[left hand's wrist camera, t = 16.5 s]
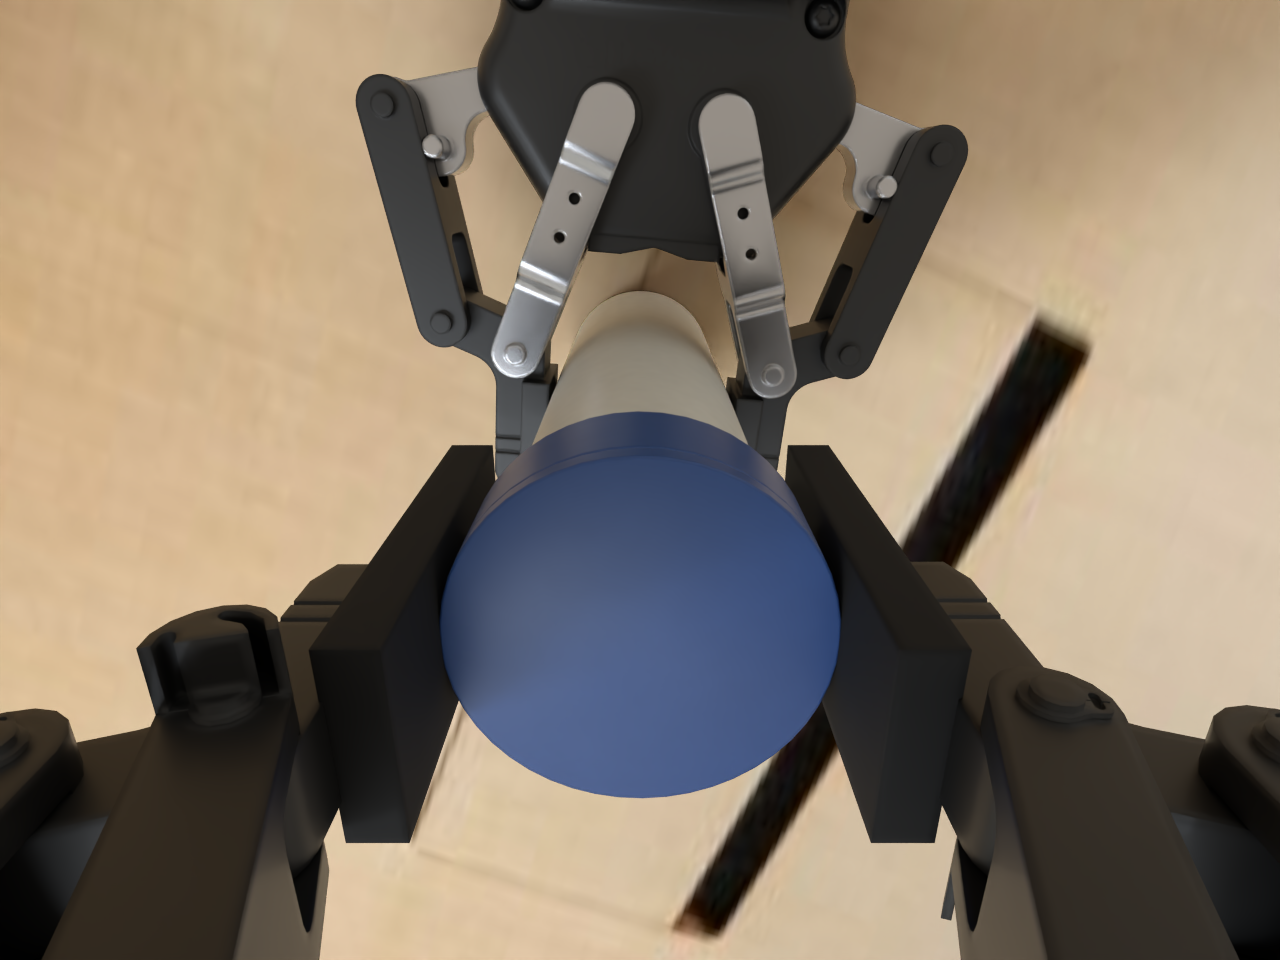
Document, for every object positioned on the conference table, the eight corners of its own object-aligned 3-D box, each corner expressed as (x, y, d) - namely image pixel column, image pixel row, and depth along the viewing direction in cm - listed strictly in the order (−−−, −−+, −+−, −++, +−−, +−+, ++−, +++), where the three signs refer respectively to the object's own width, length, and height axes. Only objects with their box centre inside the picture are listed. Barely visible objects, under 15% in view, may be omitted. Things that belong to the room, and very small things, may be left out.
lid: (399, 576, 12) (356, 647, 10) (637, 332, 11) (636, 364, 9) (642, 764, 14) (643, 855, 12) (882, 571, 12) (924, 641, 10)
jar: (612, 264, 25) (568, 404, 10) (733, 333, 26) (870, 562, 11) (549, 385, 27) (425, 672, 11) (665, 446, 28) (697, 791, 12)
